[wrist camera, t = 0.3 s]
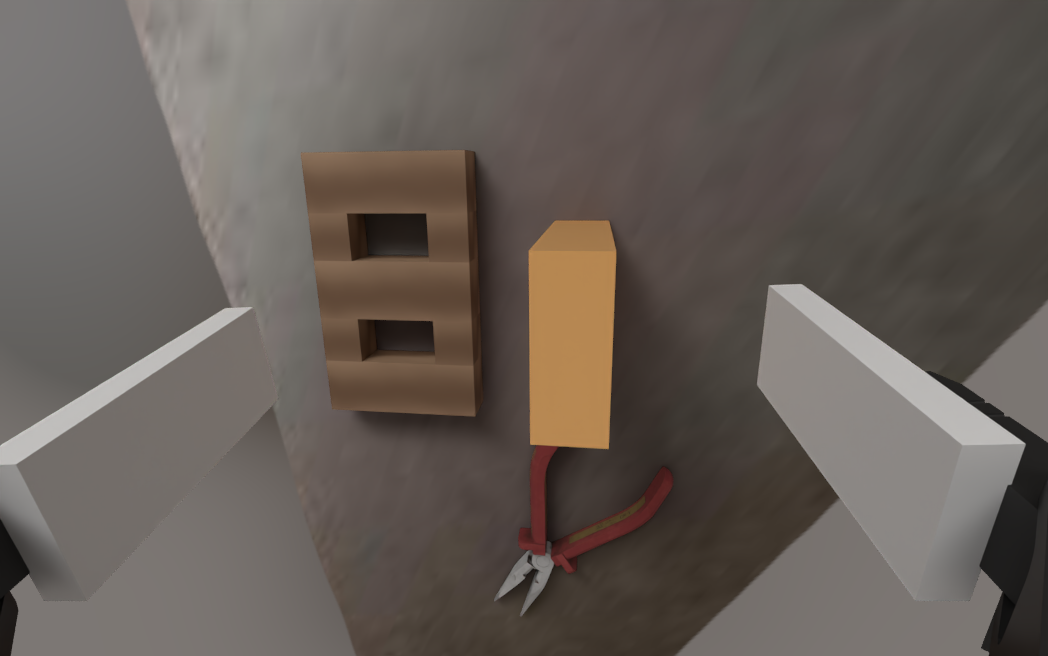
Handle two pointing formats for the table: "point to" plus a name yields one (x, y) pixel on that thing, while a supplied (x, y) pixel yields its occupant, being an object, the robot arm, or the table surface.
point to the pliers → (578, 542)
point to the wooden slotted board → (397, 279)
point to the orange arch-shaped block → (571, 334)
